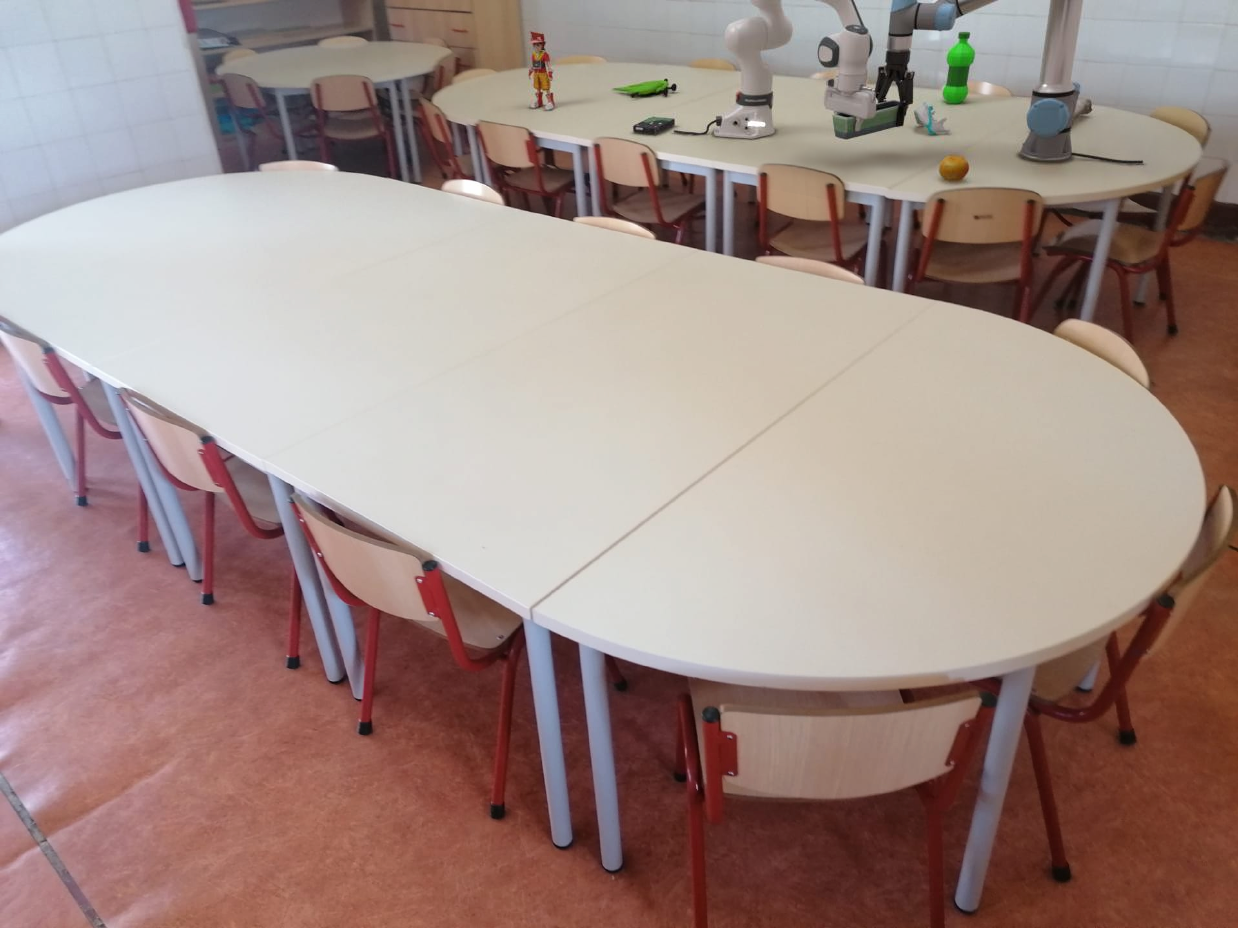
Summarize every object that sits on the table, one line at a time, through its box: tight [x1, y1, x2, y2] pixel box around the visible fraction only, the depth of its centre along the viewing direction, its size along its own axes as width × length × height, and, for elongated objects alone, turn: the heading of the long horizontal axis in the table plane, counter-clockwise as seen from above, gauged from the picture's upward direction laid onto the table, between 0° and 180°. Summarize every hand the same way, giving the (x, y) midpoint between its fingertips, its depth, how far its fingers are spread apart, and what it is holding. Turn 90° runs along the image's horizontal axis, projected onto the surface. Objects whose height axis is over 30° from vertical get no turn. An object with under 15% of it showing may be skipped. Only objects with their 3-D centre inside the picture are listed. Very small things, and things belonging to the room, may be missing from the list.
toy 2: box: [612, 78, 677, 99], centre depth 396 cm, size 28×5×30 cm
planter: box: [832, 99, 909, 140], centre depth 293 cm, size 28×7×7 cm, turn 121°
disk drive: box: [632, 116, 676, 136], centre depth 344 cm, size 10×3×15 cm
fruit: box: [938, 154, 970, 182], centre depth 276 cm, size 8×8×8 cm
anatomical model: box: [913, 101, 951, 135], centre depth 322 cm, size 15×10×10 cm
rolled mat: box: [1073, 97, 1093, 121], centre depth 320 cm, size 30×9×10 cm
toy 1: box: [527, 31, 556, 111], centre depth 374 cm, size 12×9×30 cm
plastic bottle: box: [942, 31, 976, 104], centre depth 348 cm, size 10×10×25 cm
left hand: (847, 128), depth 289 cm, fingers closed on planter, 6 cm apart
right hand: (890, 123), depth 298 cm, fingers open, 8 cm apart
